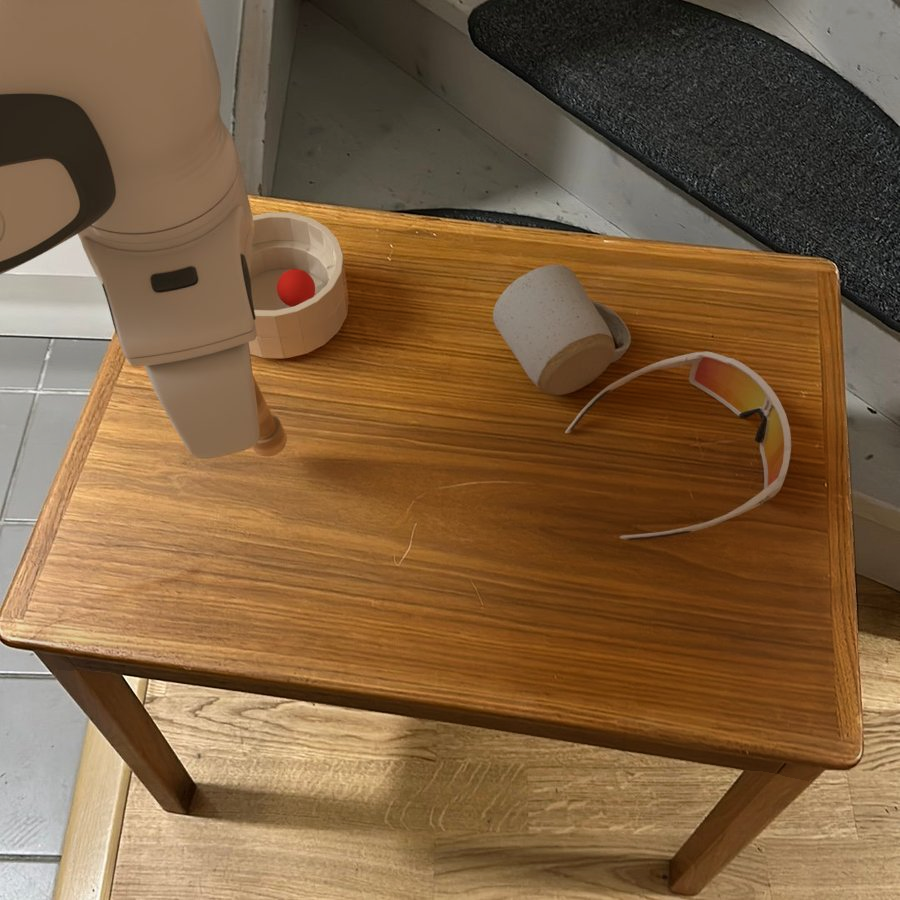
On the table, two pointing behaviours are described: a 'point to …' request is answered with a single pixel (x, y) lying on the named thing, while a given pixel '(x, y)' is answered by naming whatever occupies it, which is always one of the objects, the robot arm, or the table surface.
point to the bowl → (308, 249)
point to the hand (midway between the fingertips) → (218, 371)
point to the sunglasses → (744, 399)
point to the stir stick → (268, 428)
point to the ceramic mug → (558, 329)
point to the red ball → (295, 287)
